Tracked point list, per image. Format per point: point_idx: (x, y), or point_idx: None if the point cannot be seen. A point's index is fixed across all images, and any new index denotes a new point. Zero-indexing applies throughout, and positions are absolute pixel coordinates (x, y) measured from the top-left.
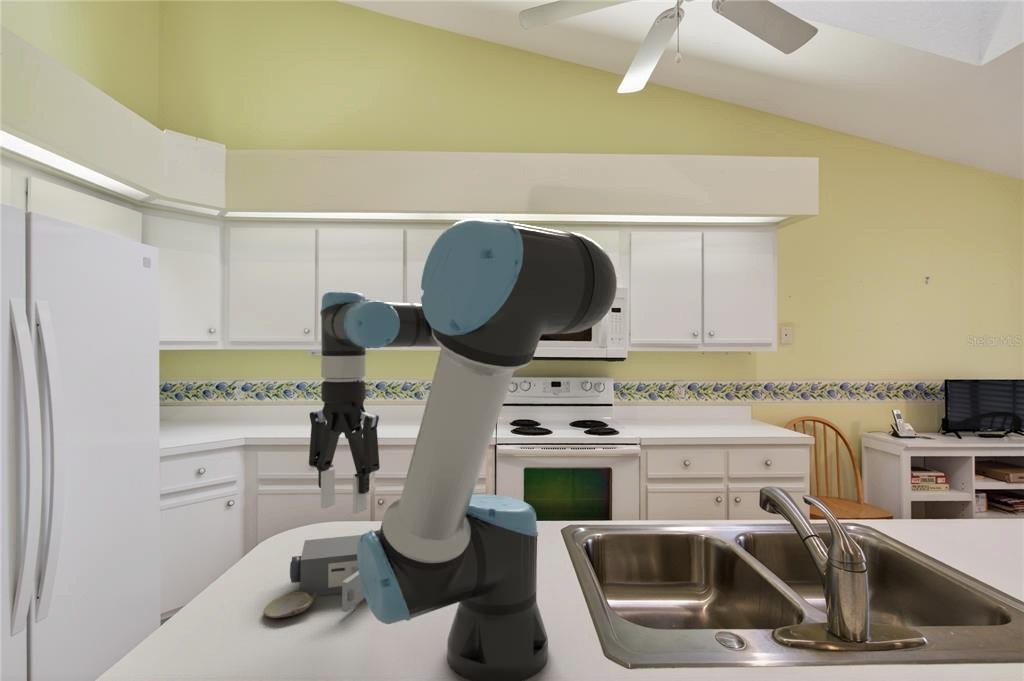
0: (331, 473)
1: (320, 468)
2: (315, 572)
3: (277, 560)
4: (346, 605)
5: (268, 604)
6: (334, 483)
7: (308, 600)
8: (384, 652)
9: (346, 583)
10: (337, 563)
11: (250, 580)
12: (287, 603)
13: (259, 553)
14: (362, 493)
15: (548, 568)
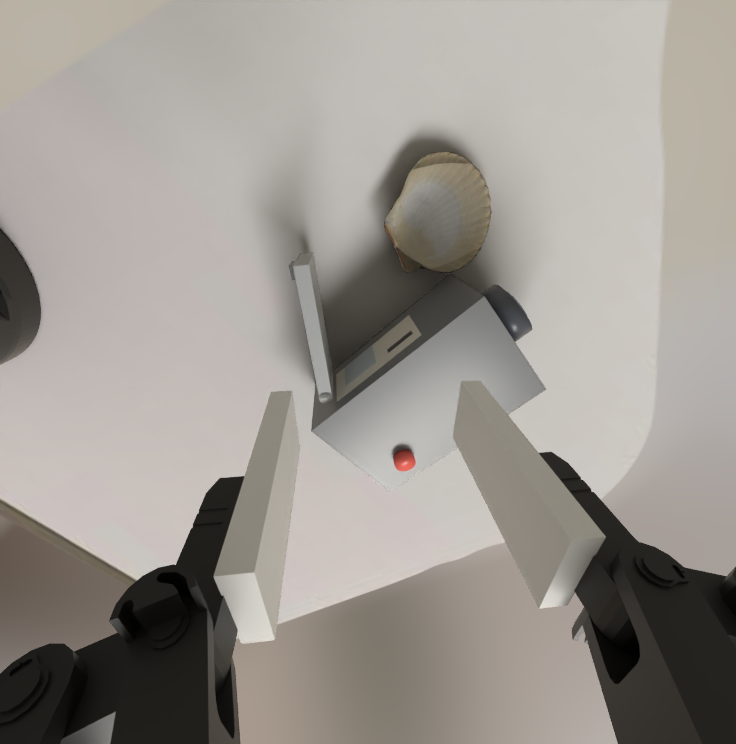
0: (533, 562)
1: (635, 565)
2: (441, 309)
3: (595, 374)
4: (300, 256)
5: (487, 200)
6: (492, 513)
7: (412, 254)
8: (113, 166)
9: (296, 266)
10: (403, 347)
11: (601, 288)
12: (457, 236)
13: (647, 380)
14: (227, 480)
15: (126, 538)
